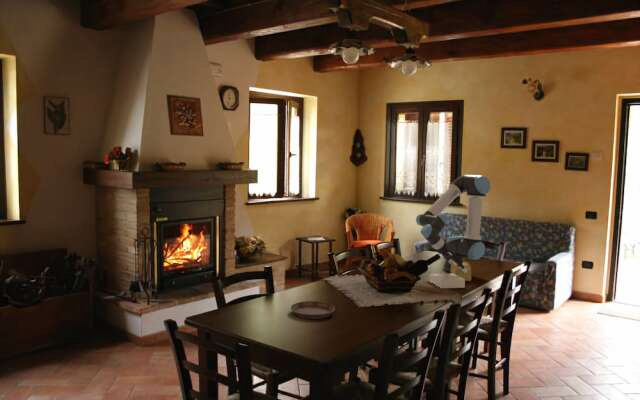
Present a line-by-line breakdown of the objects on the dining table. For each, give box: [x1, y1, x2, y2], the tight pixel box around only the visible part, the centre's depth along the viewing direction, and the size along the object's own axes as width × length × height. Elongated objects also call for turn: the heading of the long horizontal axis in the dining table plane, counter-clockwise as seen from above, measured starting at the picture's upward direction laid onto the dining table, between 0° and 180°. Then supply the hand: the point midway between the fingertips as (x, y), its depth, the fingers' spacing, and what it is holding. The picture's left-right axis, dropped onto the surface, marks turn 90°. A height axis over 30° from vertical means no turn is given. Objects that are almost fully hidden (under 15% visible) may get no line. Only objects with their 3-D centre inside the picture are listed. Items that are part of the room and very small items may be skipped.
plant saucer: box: [290, 300, 335, 320], centre depth 250 cm, size 21×21×3 cm
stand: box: [429, 273, 466, 289], centre depth 316 cm, size 15×15×5 cm
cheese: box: [450, 261, 472, 282], centre depth 333 cm, size 10×11×10 cm
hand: (461, 269), depth 332 cm, fingers open, 13 cm apart
